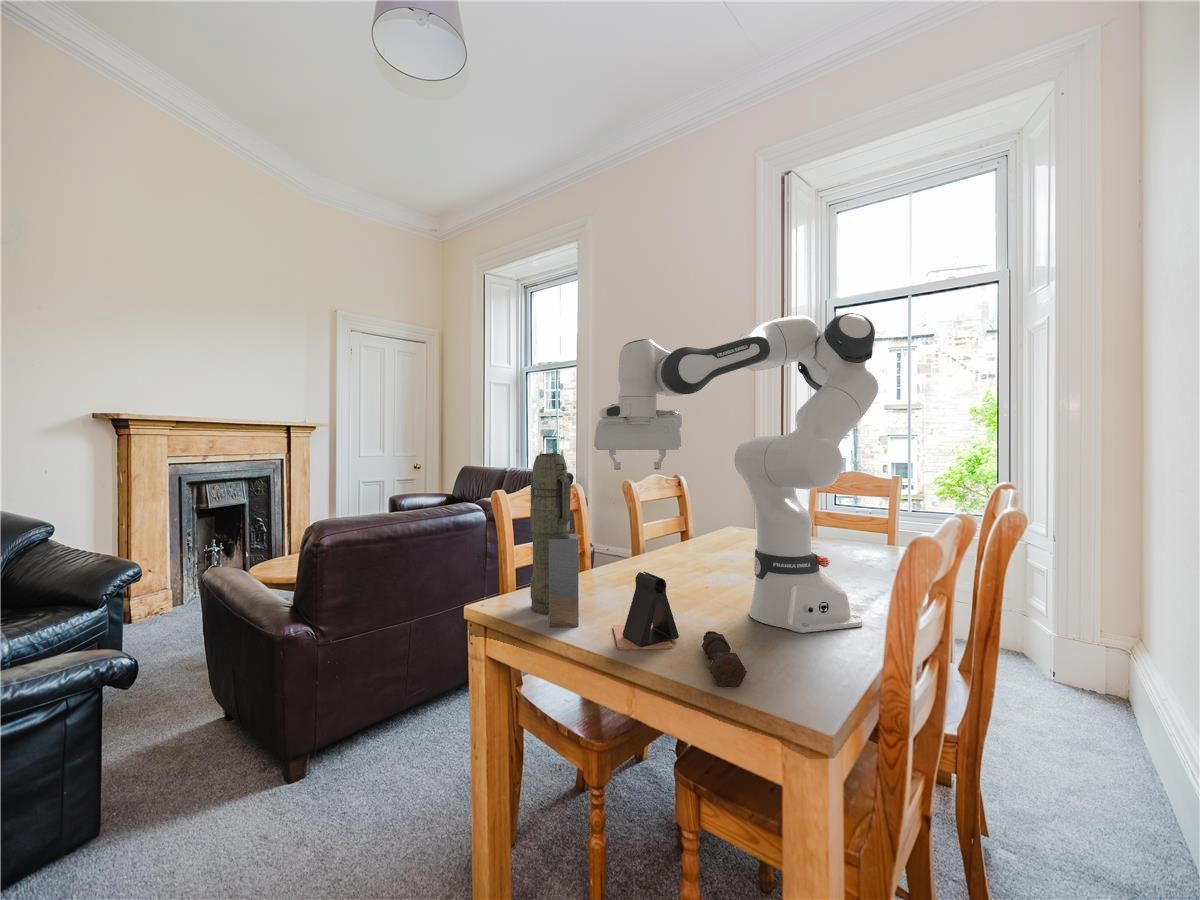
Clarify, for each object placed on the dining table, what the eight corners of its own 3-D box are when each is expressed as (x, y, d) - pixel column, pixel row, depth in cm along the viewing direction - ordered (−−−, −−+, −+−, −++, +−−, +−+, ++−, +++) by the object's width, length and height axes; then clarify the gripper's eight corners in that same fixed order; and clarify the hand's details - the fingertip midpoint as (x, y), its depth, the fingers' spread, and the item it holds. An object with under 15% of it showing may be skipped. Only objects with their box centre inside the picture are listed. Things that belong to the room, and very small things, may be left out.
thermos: (557, 619, 111) (556, 454, 110) (518, 608, 118) (517, 453, 117) (583, 608, 118) (583, 453, 117) (544, 598, 125) (544, 452, 124)
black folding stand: (660, 628, 104) (660, 568, 104) (679, 638, 99) (679, 575, 99) (622, 636, 100) (622, 574, 100) (639, 647, 95) (639, 582, 94)
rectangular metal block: (579, 616, 113) (579, 533, 112) (580, 626, 107) (579, 539, 106) (550, 617, 112) (549, 533, 112) (549, 627, 106) (548, 539, 106)
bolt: (715, 659, 96) (733, 697, 81) (691, 645, 96) (705, 680, 81) (731, 631, 96) (752, 664, 81) (707, 617, 96) (723, 648, 81)
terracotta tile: (661, 626, 107) (661, 624, 107) (672, 648, 96) (672, 645, 96) (613, 627, 106) (613, 625, 106) (618, 649, 95) (618, 647, 95)
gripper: (678, 410, 125) (678, 468, 125) (593, 410, 124) (593, 469, 124) (684, 409, 119) (684, 470, 119) (594, 409, 117) (594, 470, 118)
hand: (637, 469), depth 122 cm, fingers open, 8 cm apart
